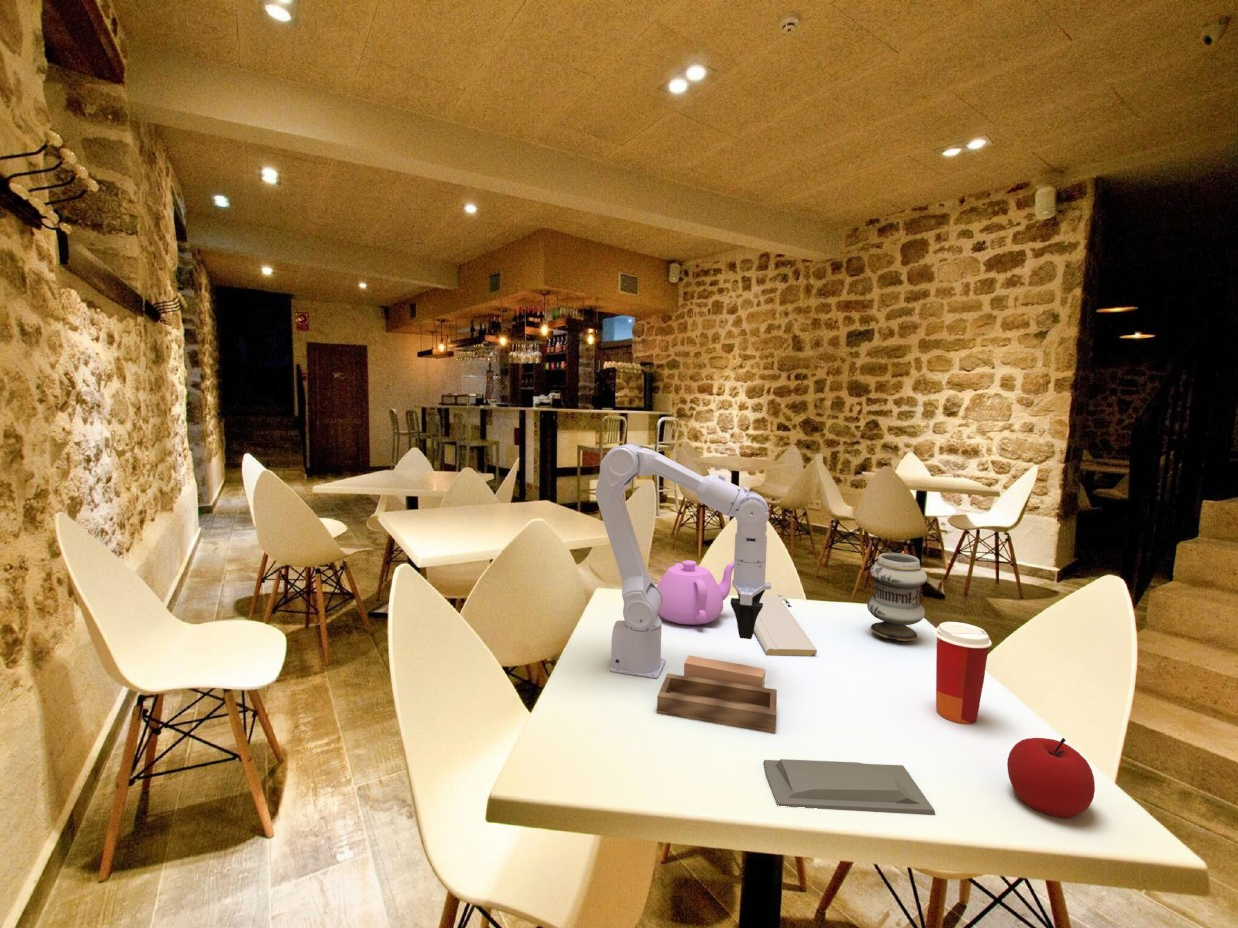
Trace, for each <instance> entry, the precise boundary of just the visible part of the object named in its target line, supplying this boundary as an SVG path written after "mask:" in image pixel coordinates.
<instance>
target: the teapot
mask: <svg viewBox="0 0 1238 928" xmlns="http://www.w3.org/2000/svg"><path fill="white" fill-rule="evenodd" d="M733 572H734V561H732V562H730V563H728V564H727V565H726V566H725V568H724V571H723V576H722V578H721V579H722V580H721V581H720V583H718V582H717V580H716V579H715V577H714V575H713V574H712V572H711V571H710V570H709V569H708V568H706V567H705V566H704V567H703V566H702V565H701V566H700V565H697V562H696V561H694V560H689V559H688V560H683V561H682V562H681V563H680V562H676V563H674V564H673V565H672V566H669V568H668V569H667V570H666V571H665V573H664V574H663V575H662V577H661V578H660V580H659V582H658V583H657V585H656V587H657V588H658V589H659V590H660V592H661V593H662V596H663V604H662V607H661V608H660V610H659V611H658V615H659V617H661V618H662V619H664V620H666V621H669V622H671V623H675V624H679V625H690V626H691V625H692V626H693V625H694V626H695V625H704V624H709V623H711V622H713V621H715V620H716V619H717V618H718V616H720V614H722V612H723V609H724V601H725V600H726V599H727V598H728V596H729V595H730V592H731V587H732V574H733Z"/></svg>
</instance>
